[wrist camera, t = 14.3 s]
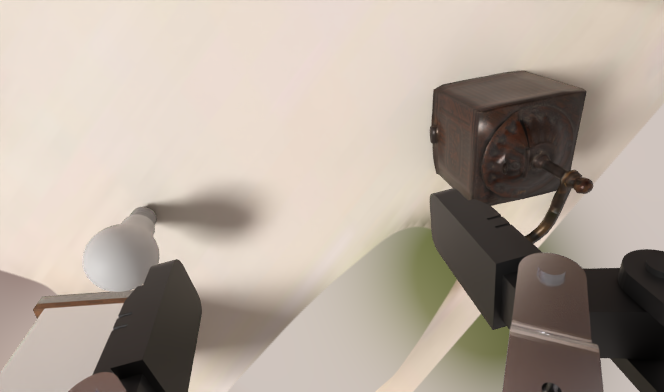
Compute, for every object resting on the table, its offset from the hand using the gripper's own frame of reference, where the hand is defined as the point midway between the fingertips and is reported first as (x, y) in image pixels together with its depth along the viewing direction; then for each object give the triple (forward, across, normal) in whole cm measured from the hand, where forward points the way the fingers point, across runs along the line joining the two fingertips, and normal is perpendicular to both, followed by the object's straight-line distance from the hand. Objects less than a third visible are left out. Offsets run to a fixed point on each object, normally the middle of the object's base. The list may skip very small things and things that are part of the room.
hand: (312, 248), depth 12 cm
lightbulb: (+29, +18, +11) cm, 35 cm away
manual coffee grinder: (+28, -20, +12) cm, 37 cm away
